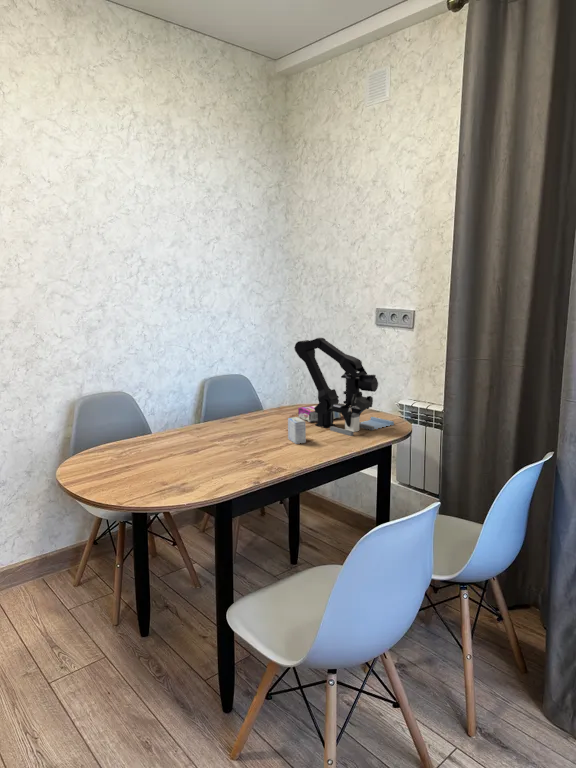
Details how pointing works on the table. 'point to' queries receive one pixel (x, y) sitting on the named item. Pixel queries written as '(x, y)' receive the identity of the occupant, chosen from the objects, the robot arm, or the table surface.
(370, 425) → the rail tray
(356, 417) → the grey chamfered block
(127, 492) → the table surface
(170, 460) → the table surface
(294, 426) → the medicine box
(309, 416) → the candy bar box
